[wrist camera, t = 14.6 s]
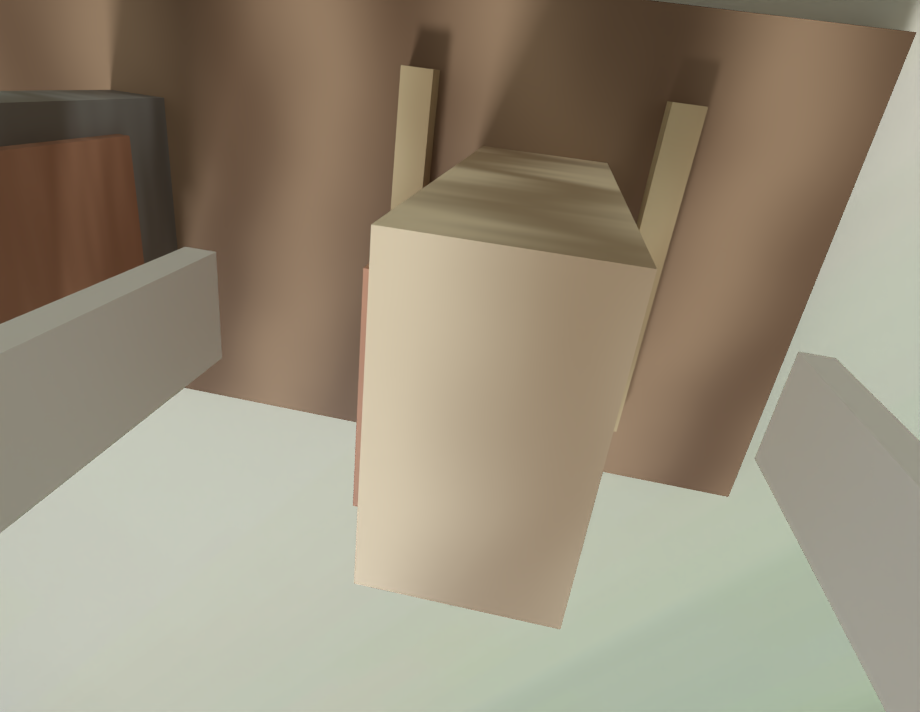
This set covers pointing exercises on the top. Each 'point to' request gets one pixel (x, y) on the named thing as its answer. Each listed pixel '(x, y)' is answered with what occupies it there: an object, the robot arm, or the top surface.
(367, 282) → the maple finger
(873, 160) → the top surface
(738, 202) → the rail
